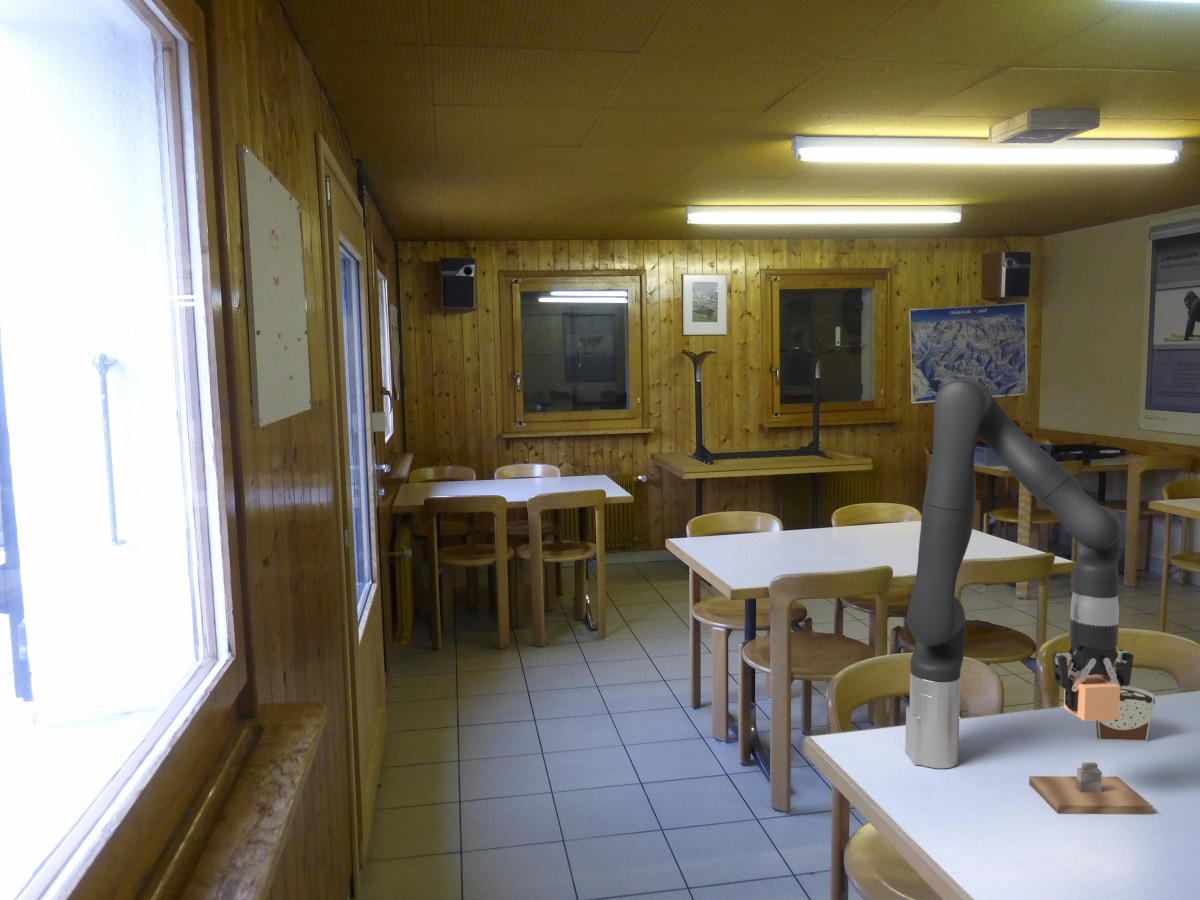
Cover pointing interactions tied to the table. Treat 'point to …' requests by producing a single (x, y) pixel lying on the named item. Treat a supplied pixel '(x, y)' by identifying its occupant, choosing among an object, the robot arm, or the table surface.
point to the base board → (1089, 793)
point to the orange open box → (1097, 699)
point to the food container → (1129, 717)
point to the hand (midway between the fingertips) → (1090, 708)
